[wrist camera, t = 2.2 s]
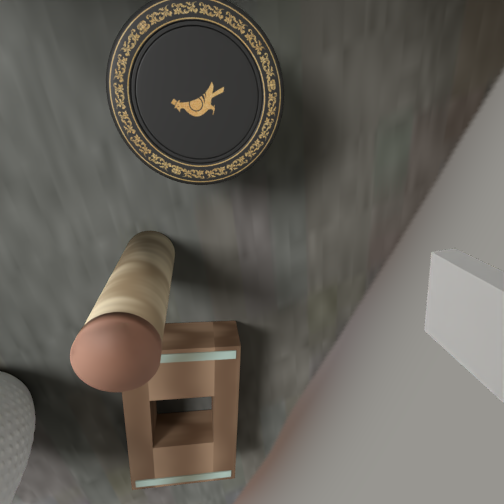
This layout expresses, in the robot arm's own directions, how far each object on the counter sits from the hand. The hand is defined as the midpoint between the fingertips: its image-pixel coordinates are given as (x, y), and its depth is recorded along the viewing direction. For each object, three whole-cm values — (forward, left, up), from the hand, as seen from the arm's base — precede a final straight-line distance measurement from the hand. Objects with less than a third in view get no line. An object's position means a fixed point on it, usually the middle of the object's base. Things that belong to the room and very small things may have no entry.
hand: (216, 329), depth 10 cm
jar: (0, +7, -20) cm, 21 cm away
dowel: (-4, -5, -20) cm, 21 cm away
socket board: (-2, -20, -20) cm, 28 cm away
